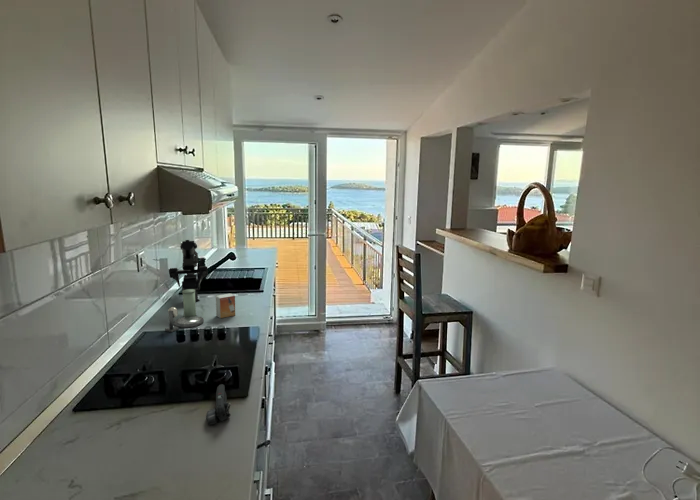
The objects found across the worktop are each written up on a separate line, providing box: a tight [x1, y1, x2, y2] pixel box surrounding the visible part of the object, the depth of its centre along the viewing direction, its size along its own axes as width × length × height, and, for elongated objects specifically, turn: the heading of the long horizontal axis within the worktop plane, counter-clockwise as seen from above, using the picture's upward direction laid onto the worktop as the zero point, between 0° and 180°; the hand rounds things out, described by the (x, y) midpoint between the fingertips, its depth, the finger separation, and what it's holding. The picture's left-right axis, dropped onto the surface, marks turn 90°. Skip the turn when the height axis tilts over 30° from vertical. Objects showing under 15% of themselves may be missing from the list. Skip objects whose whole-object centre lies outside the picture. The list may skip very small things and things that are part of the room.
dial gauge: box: [164, 306, 180, 333], centre depth 172 cm, size 4×5×10 cm
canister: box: [181, 289, 197, 317], centre depth 191 cm, size 6×6×13 cm
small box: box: [215, 292, 236, 319], centre depth 192 cm, size 8×6×10 cm
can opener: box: [205, 383, 232, 425], centre depth 114 cm, size 18×7×6 cm, turn 14°
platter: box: [174, 315, 205, 329], centre depth 182 cm, size 13×13×1 cm
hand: (189, 285), depth 197 cm, fingers open, 9 cm apart
